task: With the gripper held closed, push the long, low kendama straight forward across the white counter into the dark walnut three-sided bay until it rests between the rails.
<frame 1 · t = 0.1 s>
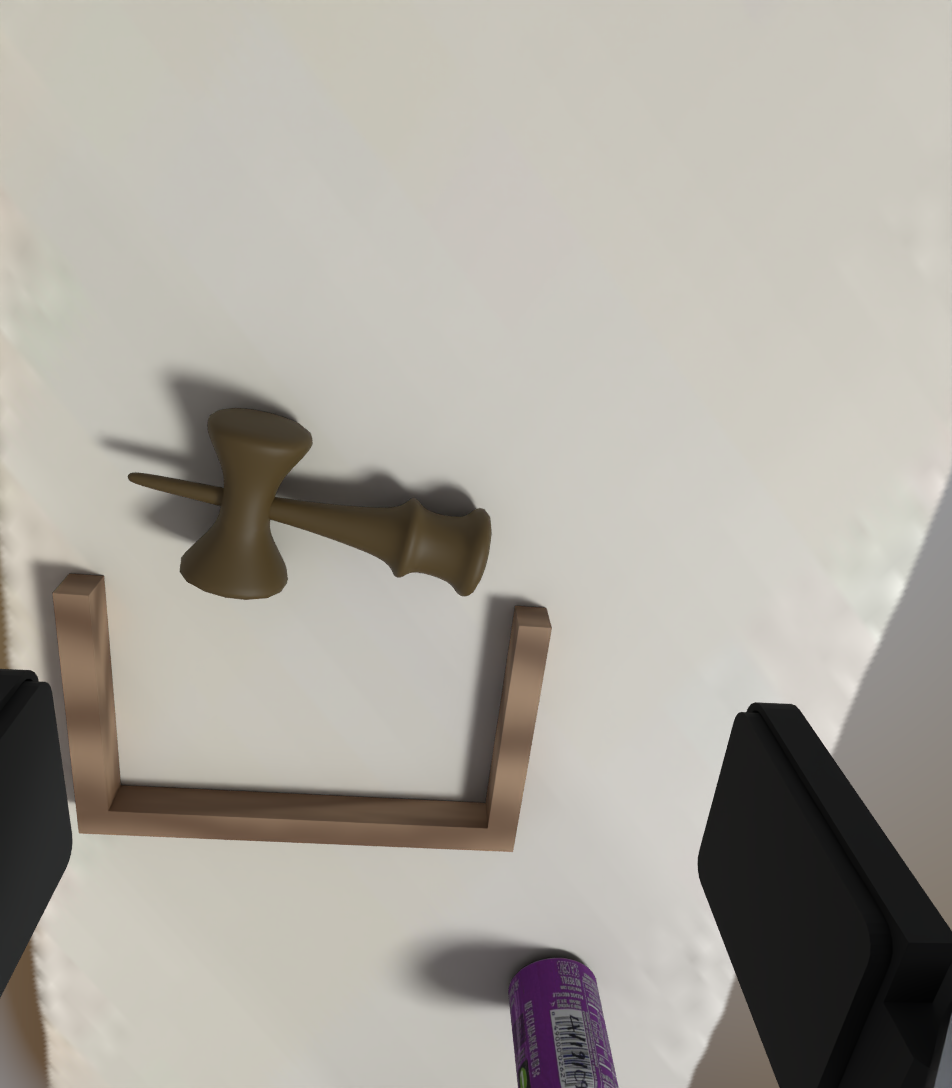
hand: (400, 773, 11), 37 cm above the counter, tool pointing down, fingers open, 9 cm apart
beverage can: (550, 978, 67), on the counter
walnut bay: (312, 646, 53), on the counter
kendama: (319, 497, 49), on the counter
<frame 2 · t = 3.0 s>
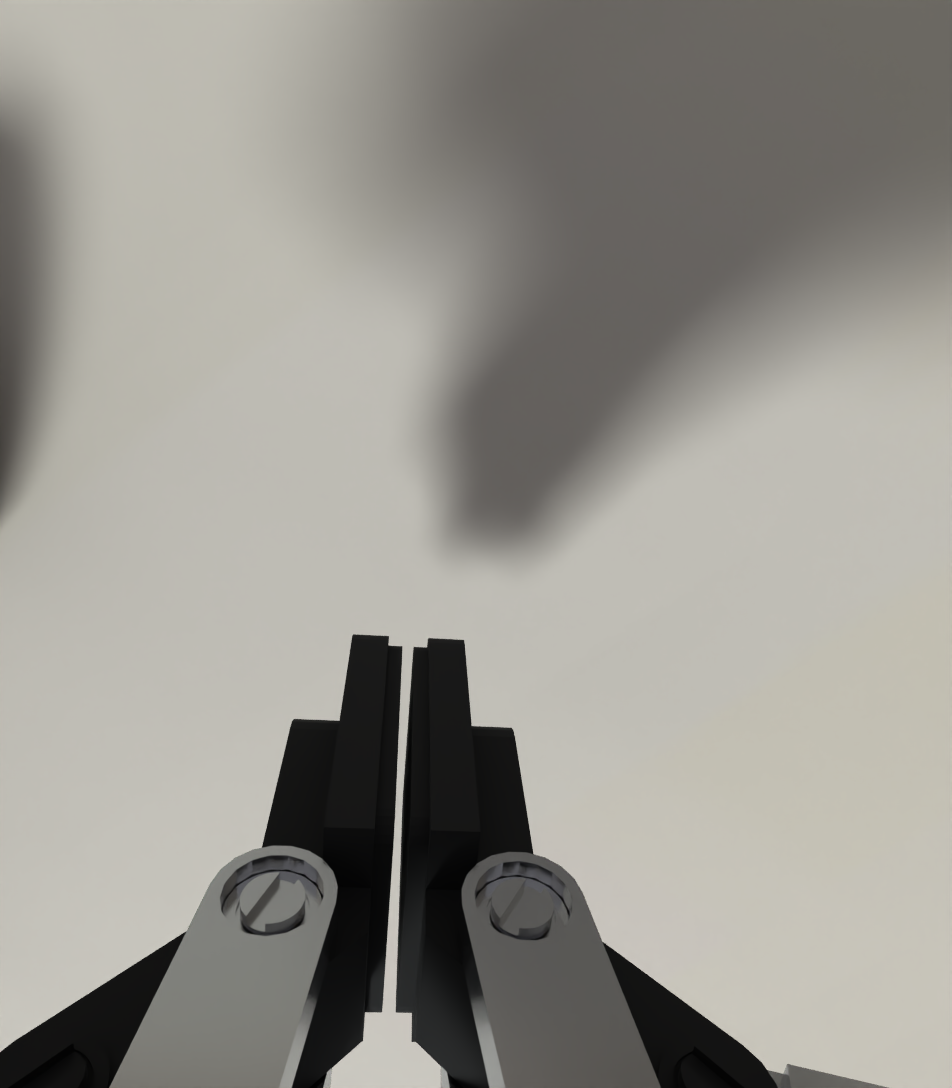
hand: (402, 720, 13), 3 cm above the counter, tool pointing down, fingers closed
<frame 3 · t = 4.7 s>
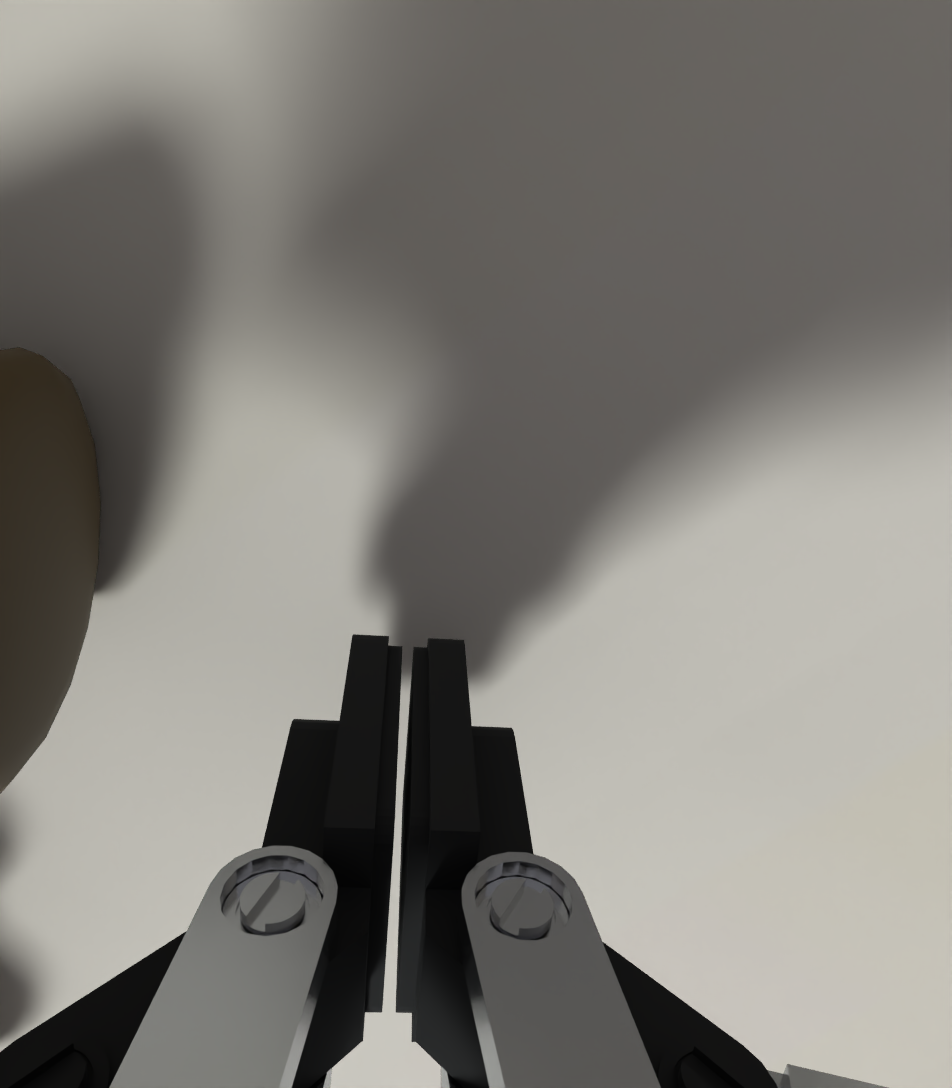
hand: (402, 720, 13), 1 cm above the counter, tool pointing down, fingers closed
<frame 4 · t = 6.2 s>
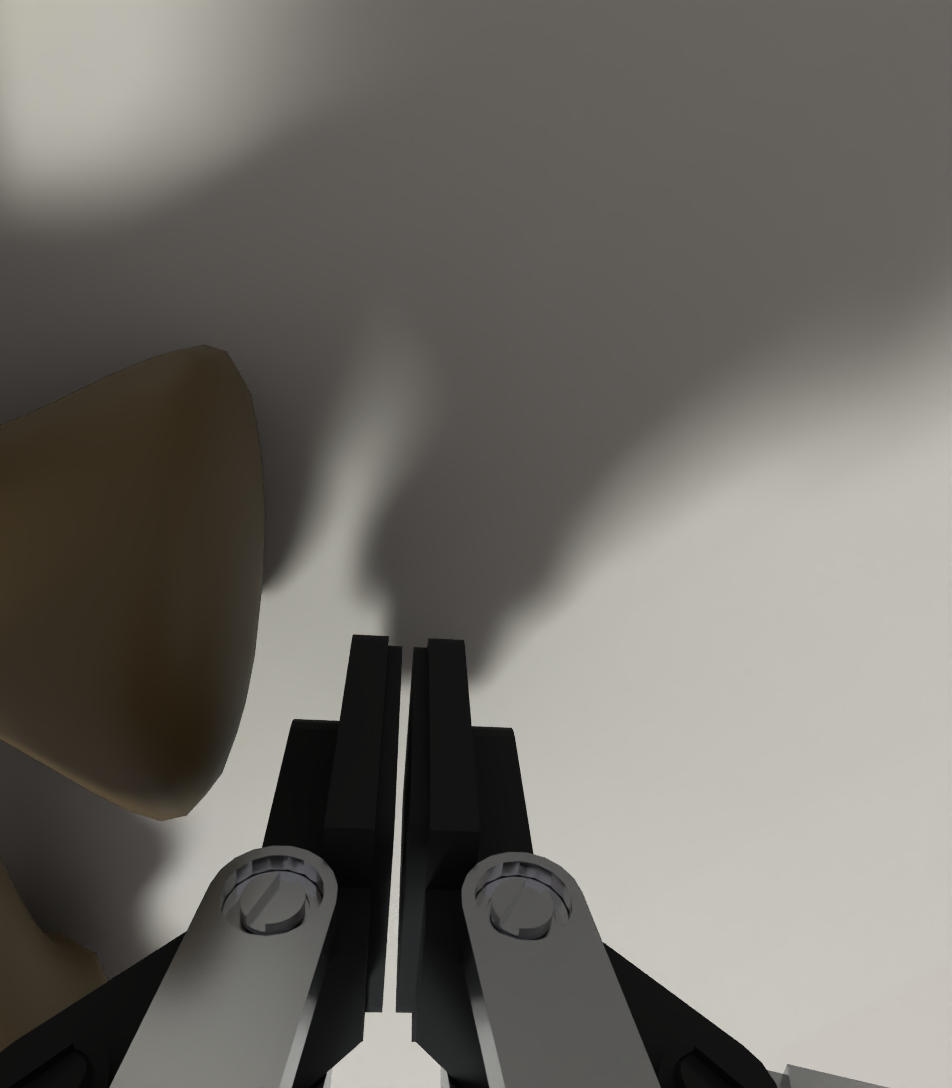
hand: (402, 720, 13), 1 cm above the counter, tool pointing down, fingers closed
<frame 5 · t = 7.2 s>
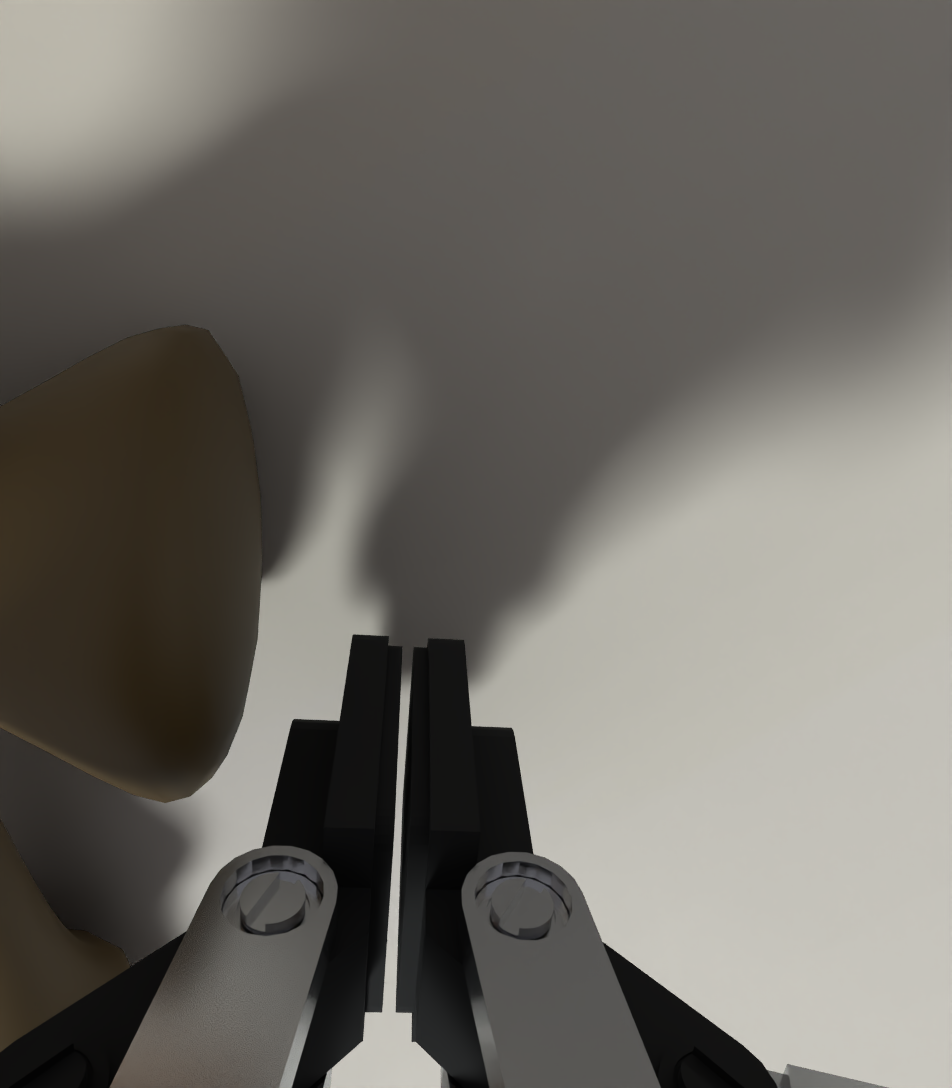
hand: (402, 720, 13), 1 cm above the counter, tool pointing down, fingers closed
kendama: (7, 672, 14), on the counter
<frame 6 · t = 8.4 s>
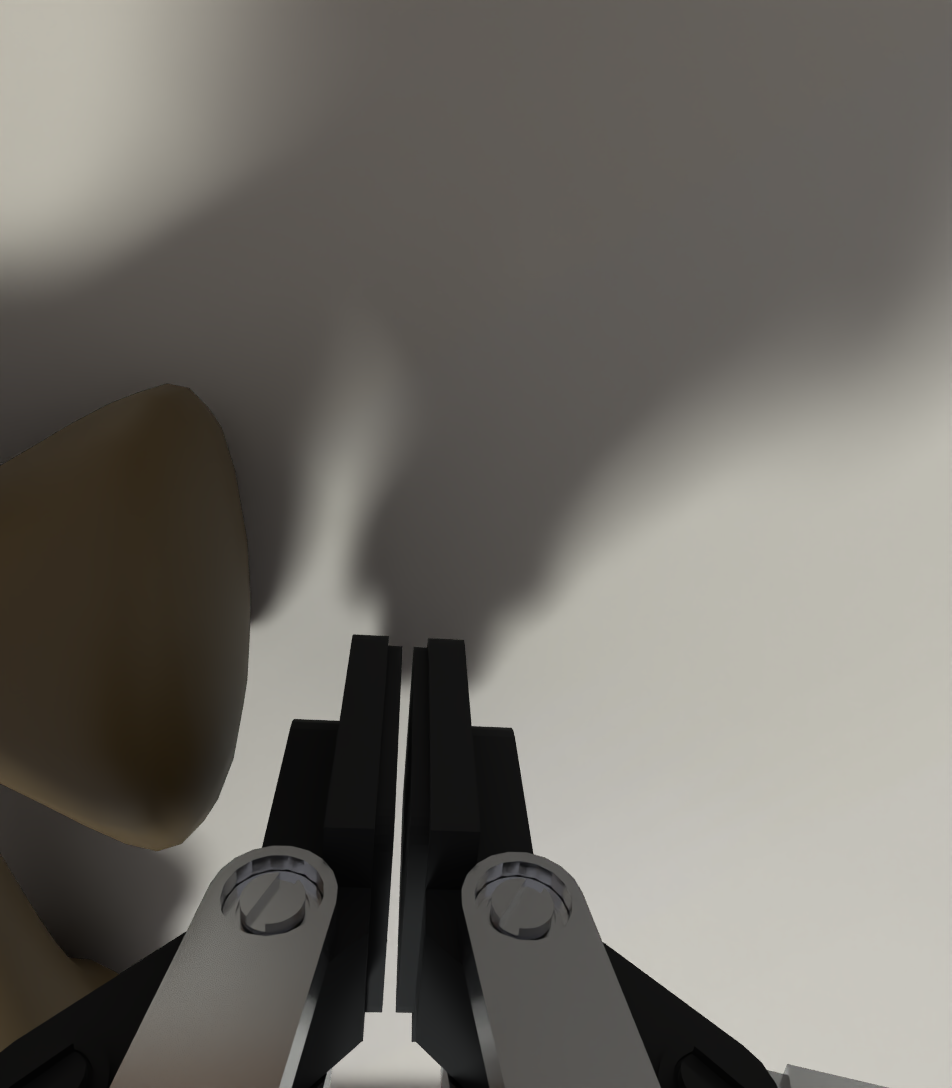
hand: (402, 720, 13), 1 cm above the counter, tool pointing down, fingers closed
kendama: (7, 712, 14), on the counter, touching gripper
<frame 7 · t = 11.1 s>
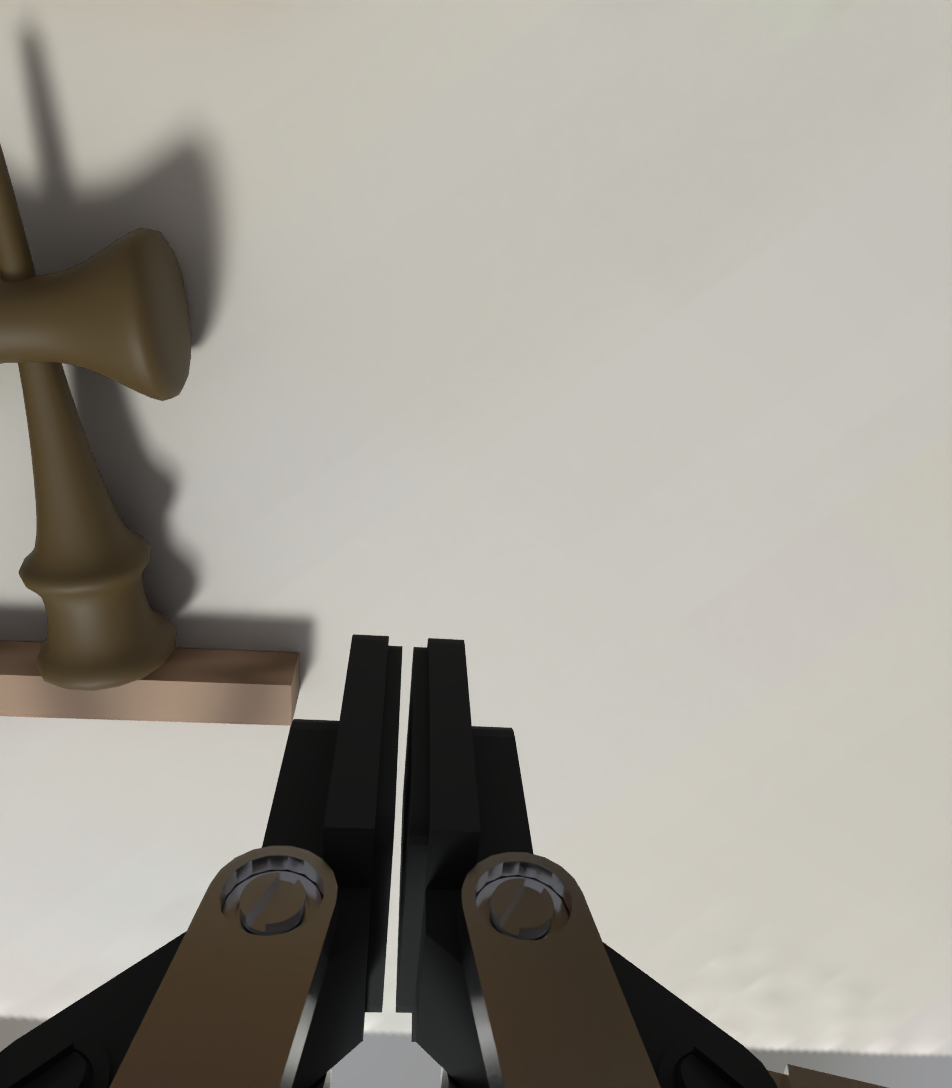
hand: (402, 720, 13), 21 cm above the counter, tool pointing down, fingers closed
walnut bay: (189, 360, 31), on the counter
kendama: (85, 402, 32), on the counter
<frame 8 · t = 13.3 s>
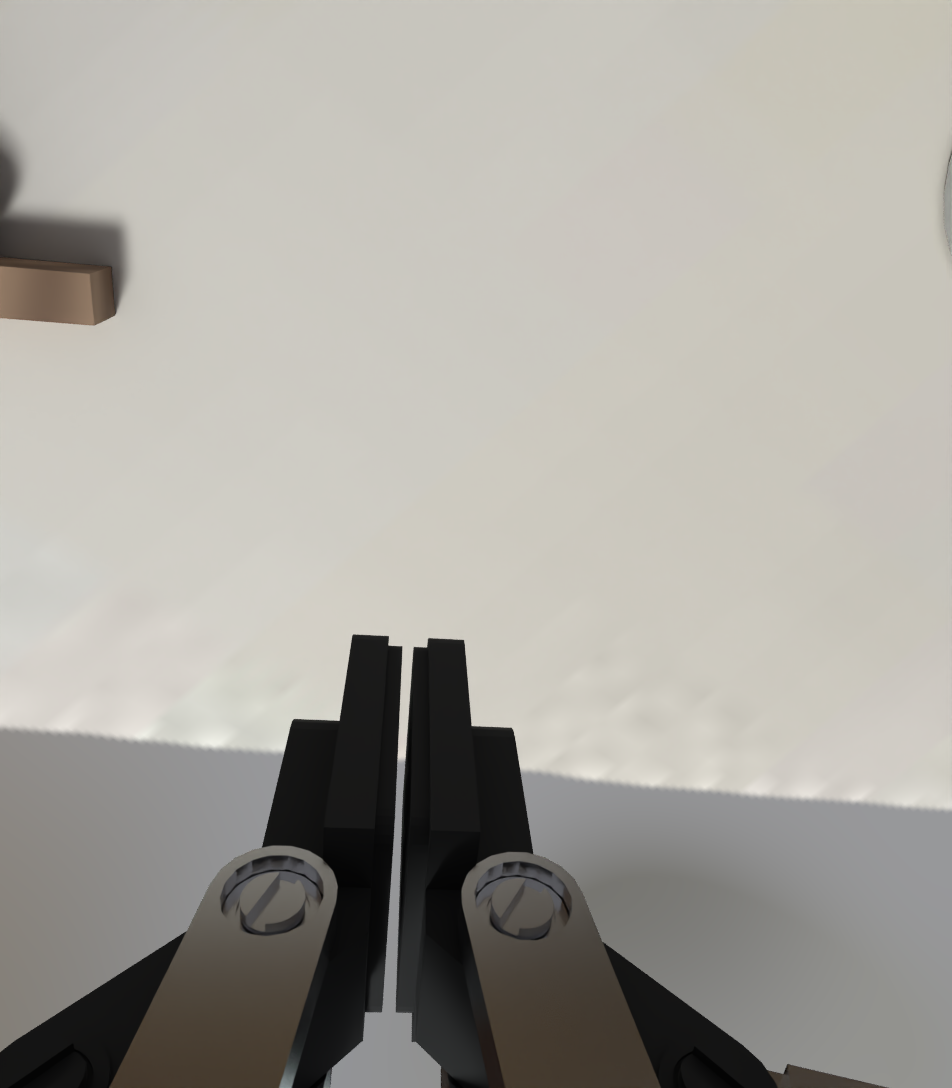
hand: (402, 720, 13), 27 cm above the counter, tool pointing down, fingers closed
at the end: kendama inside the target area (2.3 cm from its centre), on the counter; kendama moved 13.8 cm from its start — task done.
